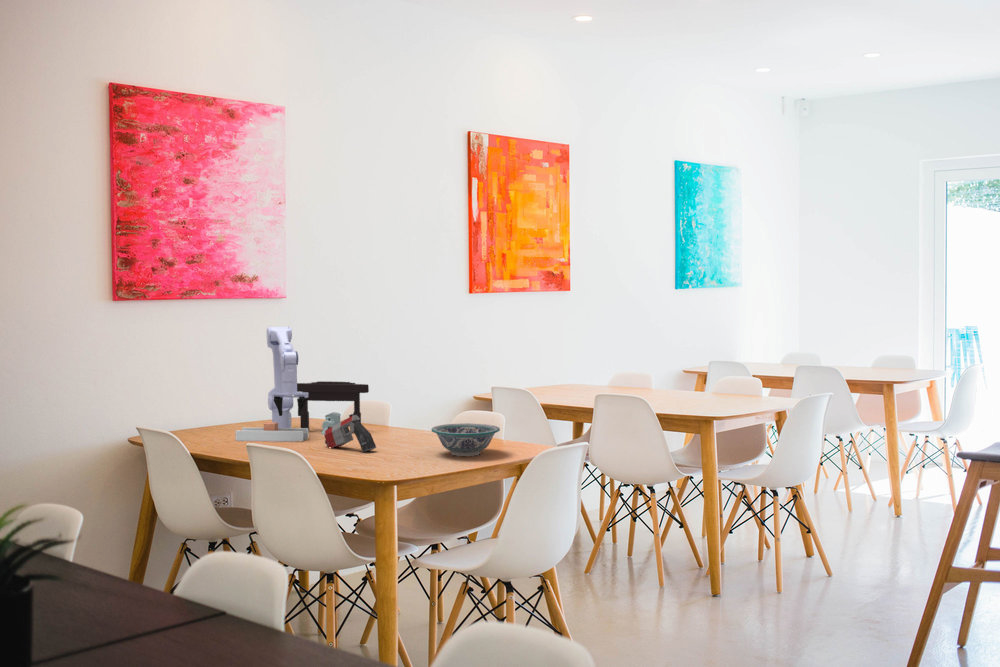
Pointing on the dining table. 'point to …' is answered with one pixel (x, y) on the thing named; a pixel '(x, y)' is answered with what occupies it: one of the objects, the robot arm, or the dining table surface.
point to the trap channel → (272, 434)
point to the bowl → (465, 437)
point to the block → (271, 426)
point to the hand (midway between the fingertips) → (290, 415)
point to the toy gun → (349, 434)
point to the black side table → (331, 399)
